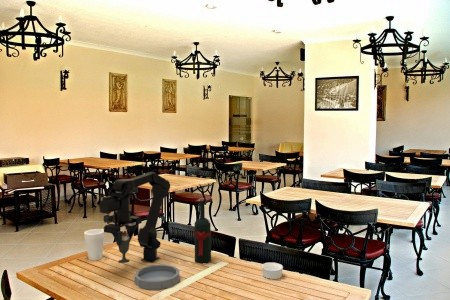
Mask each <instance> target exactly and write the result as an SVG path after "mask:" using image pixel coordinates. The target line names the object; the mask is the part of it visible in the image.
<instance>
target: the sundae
mask: <svg viewBox="0 0 450 300" xmlns="http://www.w3.org/2000/svg"><path fill="white" fill-rule="evenodd" d="M132 238H133V237H132ZM132 238H130V237H129V236H128V234H127V230H123V233H122V239H121V244H120V246H118V245H117V246H118V252H120V253H121V254H122V258H121V259H119V260H118V263H120V264H126V263H129V262H130V260H131V259H129V258H128V259H127V258H126V255H127V253H128V251H129V249H130V243H131V241H130V240H132Z"/></svg>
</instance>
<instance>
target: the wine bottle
mask: <svg viewBox="0 0 450 300" xmlns="http://www.w3.org/2000/svg"><path fill="white" fill-rule="evenodd" d="M205 209H206V208H205V197H200V198H199V218H197V219H196V220H195V221H194V224H193V225H194V263H195V264H196V263H197V264H198V265H199V264H201V265H203V263H206V264H210V263H211V262H212V239H211V238H212V236H211V235H212V231H211V228H212V227H211V221H210V220H209V219H208V218H207V217H205V215H206V214H205V212H206V211H205ZM210 261H211V262H210ZM209 262H210V263H209Z"/></svg>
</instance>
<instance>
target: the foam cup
mask: <svg viewBox="0 0 450 300" xmlns="http://www.w3.org/2000/svg"><path fill="white" fill-rule="evenodd" d="M83 233H84V234H83V235H84V241H85V246H86V251H87V252H86V253H87V256H88V257H87V258H88V260H89V261H99V260H101V259H103V255H104V254H103V252H104V245H105V244H104V242H105V236H106V232H104V228H103V229H102V228H93V229H92V228H91V229H88V230H85V231H84V232H83Z"/></svg>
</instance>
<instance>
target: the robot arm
mask: <svg viewBox="0 0 450 300" xmlns="http://www.w3.org/2000/svg"><path fill="white" fill-rule="evenodd" d="M146 184H149V185H150V186H151V192H152V200H151V203H150V207H149V210H148V214H147V218H146V221H145V225H144V226H143V227H139V230H138V234H137V241H138V245H139V246H140V247H141V248H143V250H142V254H143V258H141V259H140V260H141V262H146V263H154V262H155V261H158V260H160V259H161V258H160V257H159V256H158V249H159V248H161V244H162V242H161V241H160V240H158V239H157V237H158V233H157V228H156V227H157V223H158V219H159V215H160V212H161V208H162V204H163V201H164V198H165V197H166V196H167V195H168V194H169V191H170V188H171V184H170V181H169V180H168V179H166V178H164V177H163V176H161V175H159V173H156V172H154V171H148V172H146V173H144V174H141V175H138V176H135V177H131V178H122V179H120V178H119V179H116V180H114V182H113V185H112V186H111V188H110V191H109V192H108V194H107V196H103V197H102V200H101V201H100V202H99V207H98V208H99V209H100V211H101V213H102V214H105V215H103V217H102V218H103V223H107V224H106V225H104V227H103V230H104V232H105V234H106V233H107V234H111V235H112V236H113V239H114V240H115V243H116V245H117V246H120V244H121V239H122V233H123V232H124V230H121V229H122V228H125V230H126V233H127V234H128V236H129V237H130V238H133V236H134V233H135V232H136V230H137V228H138V226H139V225H140V224H142V223H143V222H142V221H143V220H142V217H141V216H135V215H131V214H132V213H133V210H131V209H130V208H131V206H130V198H133V197H134V195H133V194H132V193H131V192H133V191H134V190H135V189H136V188H138V187H140V186H143V185H146ZM112 212H113V214H112V215H110V214H109V213H112ZM130 215H131V216H130ZM131 240H132V239H131ZM131 240H130V242H131Z"/></svg>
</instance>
